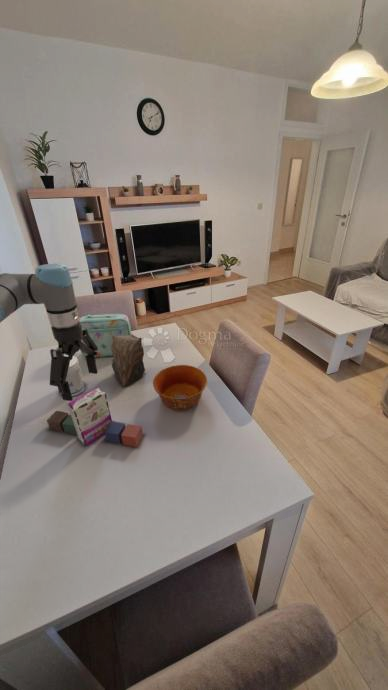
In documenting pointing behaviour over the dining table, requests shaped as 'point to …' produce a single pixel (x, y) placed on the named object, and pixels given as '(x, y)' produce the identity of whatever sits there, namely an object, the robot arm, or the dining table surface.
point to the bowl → (180, 385)
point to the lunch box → (105, 330)
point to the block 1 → (57, 421)
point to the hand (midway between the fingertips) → (81, 385)
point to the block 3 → (114, 432)
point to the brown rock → (127, 358)
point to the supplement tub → (75, 377)
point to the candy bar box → (90, 415)
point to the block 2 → (69, 425)
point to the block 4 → (132, 435)
